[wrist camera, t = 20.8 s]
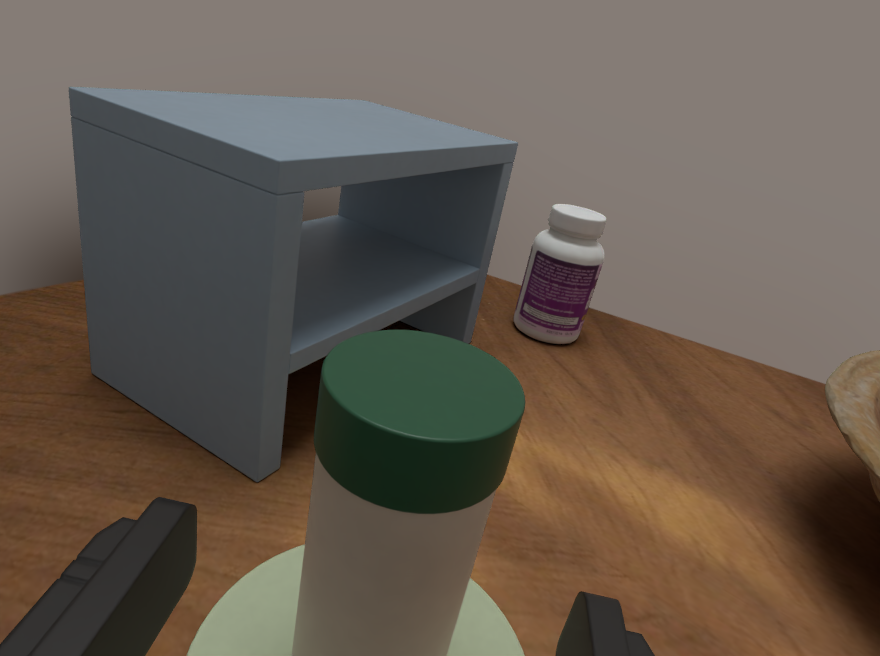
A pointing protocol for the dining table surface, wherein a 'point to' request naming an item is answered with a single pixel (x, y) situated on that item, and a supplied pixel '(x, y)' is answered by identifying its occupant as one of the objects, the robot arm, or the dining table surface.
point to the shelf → (268, 245)
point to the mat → (275, 607)
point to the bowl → (858, 408)
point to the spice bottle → (400, 491)
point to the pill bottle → (561, 275)
